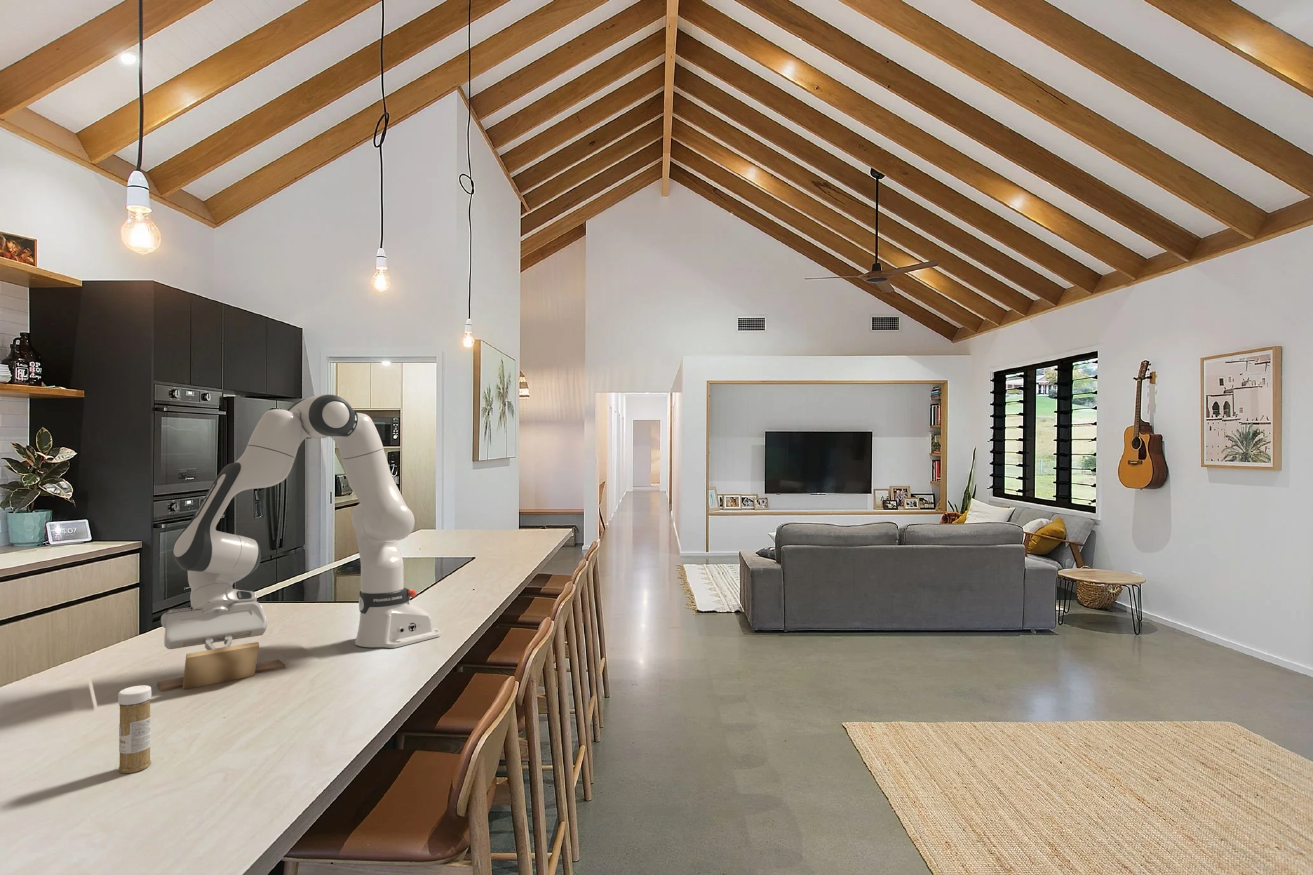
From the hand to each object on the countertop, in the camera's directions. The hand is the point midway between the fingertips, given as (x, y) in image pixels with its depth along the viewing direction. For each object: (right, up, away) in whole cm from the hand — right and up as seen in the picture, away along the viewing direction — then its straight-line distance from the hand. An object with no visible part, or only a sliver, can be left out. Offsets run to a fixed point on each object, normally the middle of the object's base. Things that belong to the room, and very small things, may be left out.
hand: (220, 656), depth 162 cm
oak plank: (0, -2, 0) cm, 2 cm away
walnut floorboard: (-3, -7, +6) cm, 10 cm away
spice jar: (+10, -7, -40) cm, 42 cm away
